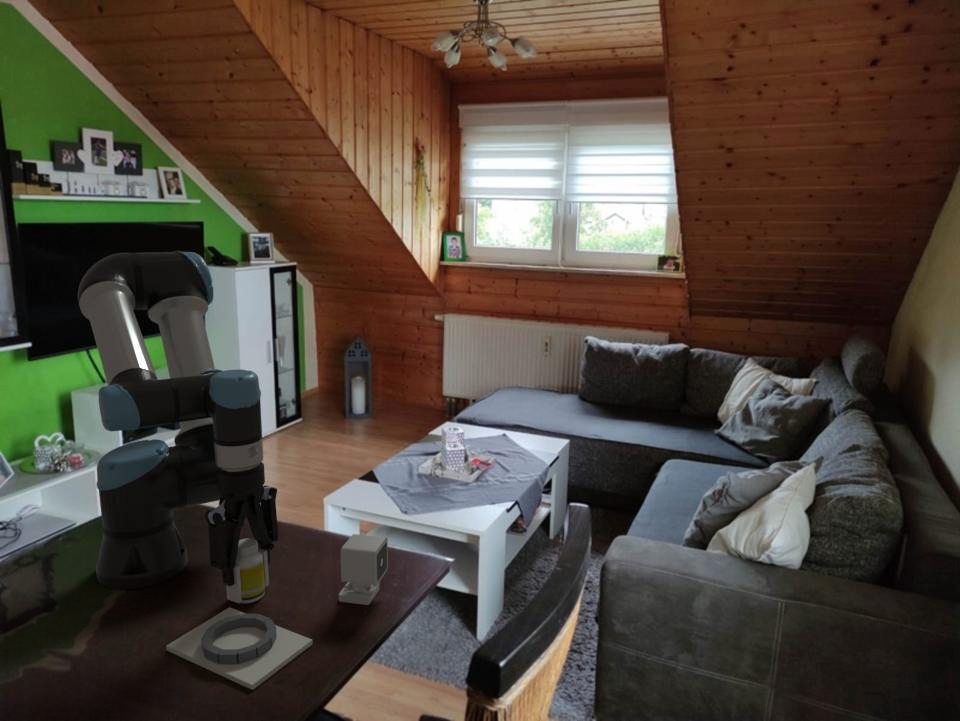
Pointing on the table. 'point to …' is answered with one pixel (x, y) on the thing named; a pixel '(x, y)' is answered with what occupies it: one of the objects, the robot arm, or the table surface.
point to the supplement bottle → (250, 570)
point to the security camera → (363, 567)
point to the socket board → (240, 646)
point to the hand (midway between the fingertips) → (248, 591)
